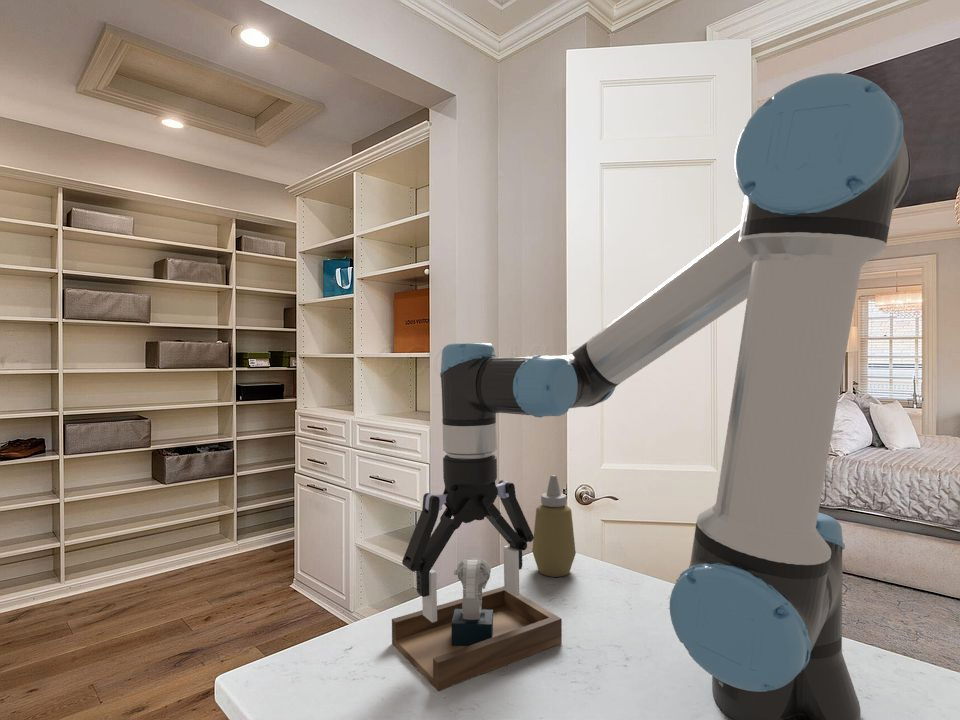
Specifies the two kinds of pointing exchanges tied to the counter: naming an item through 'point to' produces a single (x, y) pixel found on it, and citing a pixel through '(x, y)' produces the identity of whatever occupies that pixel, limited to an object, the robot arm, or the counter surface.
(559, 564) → the squeeze bottle
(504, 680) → the counter surface
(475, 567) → the watch
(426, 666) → the walnut track
